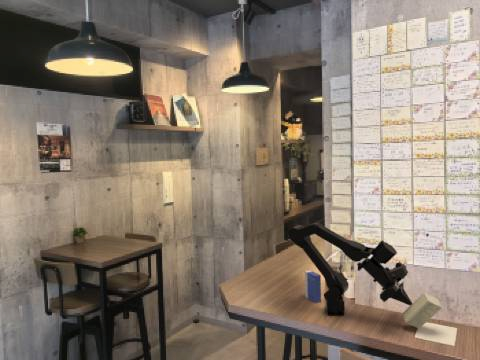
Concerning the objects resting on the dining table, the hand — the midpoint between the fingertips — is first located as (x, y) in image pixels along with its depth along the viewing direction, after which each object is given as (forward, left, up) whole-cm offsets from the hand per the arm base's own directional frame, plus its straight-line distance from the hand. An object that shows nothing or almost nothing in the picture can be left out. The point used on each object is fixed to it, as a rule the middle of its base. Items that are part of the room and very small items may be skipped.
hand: (411, 304), depth 140 cm
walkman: (-32, +27, -9) cm, 42 cm away
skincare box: (0, 0, -6) cm, 6 cm away
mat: (+7, -4, -9) cm, 12 cm away
